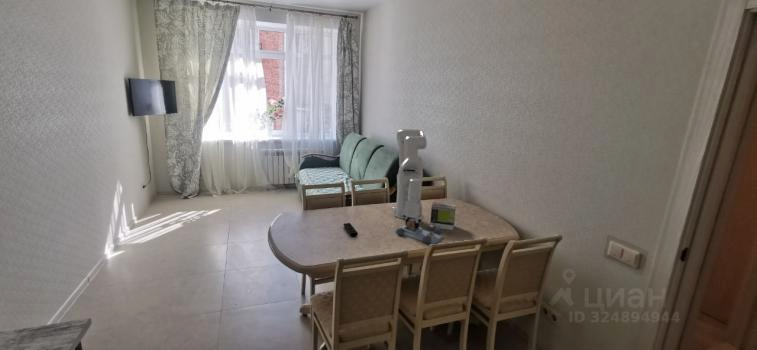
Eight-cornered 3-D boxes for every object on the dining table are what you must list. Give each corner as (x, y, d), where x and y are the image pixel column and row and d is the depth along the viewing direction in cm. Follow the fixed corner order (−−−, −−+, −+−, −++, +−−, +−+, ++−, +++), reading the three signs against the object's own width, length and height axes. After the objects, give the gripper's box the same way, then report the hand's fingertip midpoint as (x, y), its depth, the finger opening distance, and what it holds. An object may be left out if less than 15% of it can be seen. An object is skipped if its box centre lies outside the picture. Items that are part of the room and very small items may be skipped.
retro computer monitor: (454, 225, 235) (456, 204, 231) (453, 231, 226) (455, 209, 222) (431, 222, 239) (433, 201, 235) (429, 227, 229) (431, 205, 226)
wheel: (425, 233, 210) (425, 226, 209) (429, 230, 215) (429, 223, 213) (433, 235, 208) (433, 228, 206) (436, 233, 212) (437, 225, 211)
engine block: (406, 231, 218) (406, 220, 216) (410, 228, 222) (411, 218, 220) (413, 233, 215) (414, 222, 214) (417, 230, 219) (418, 220, 218)
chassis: (393, 233, 217) (394, 226, 216) (406, 226, 230) (407, 219, 229) (432, 245, 203) (433, 238, 202) (443, 237, 216) (444, 230, 215)
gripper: (398, 197, 215) (396, 225, 220) (424, 203, 206) (421, 232, 210) (404, 194, 221) (402, 221, 226) (429, 200, 212) (427, 228, 216)
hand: (412, 226), depth 218 cm, fingers open, 6 cm apart
